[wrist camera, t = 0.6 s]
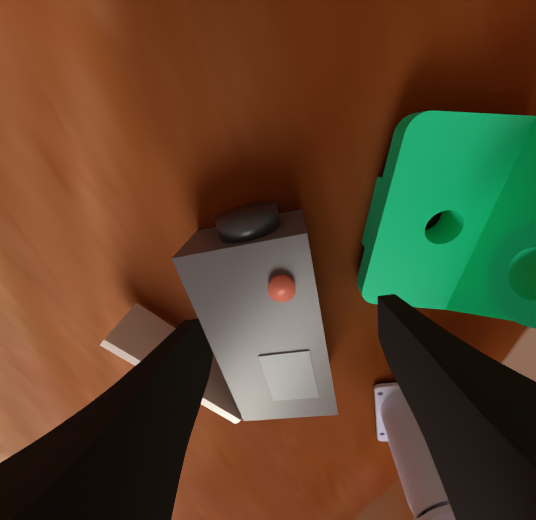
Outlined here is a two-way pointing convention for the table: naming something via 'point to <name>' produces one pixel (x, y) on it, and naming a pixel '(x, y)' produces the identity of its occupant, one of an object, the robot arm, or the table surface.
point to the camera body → (261, 310)
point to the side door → (148, 338)
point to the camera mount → (456, 216)
